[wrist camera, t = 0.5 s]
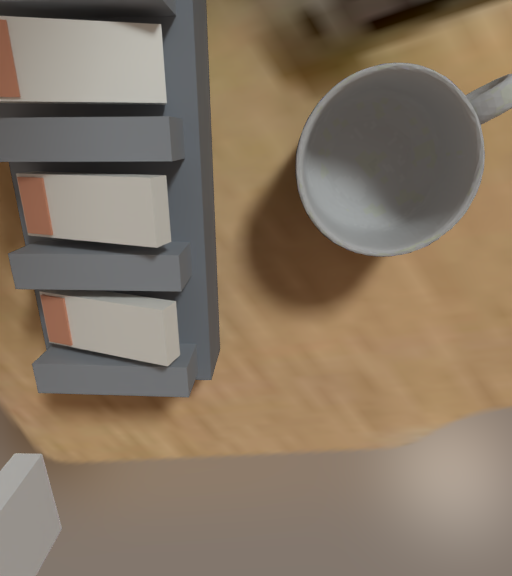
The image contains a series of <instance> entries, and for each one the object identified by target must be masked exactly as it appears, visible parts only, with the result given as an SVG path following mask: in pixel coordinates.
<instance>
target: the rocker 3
mask: <svg viewBox="0 0 512 576" xmlns="http://www.w3.org/2000/svg"><path fill="white" fill-rule="evenodd" d="M39 293H40V298H41V303H42V308H43V313H44V318H45V323H46V328H47V333H48V338H49V343H54V344H59V345H64V346H69V347H74V348H79V349H84V350H89V351H94V352H99V353H104V354H109V355H114V356H119V357H124V358H129V359H133V360H138V361H143V362H148V363H153V364H158V365H163V366H169V365H170V364H171V363H172V362H173V361H174V360H175V359H176V358H177V357H179V356H180V347H179V334H178V321H177V308H176V301H171V300H164V299H157V298H150V297H143V296H136V295H129V294H122V293H115V292H108V291H101V290H48V289H44V290H42V291H39Z"/></svg>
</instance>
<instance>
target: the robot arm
mask: <svg viewBox="0 0 512 576" xmlns="http://www.w3.org/2000/svg"><path fill="white" fill-rule="evenodd" d="M61 529H62V527H61V523H60V519H59V515H58V512H57V508H56V504H55V500H54V497H53V493H52V489H51V486H50V481H49V478H48V474H47V470H46V467H45V463H44V459H43V455H42V454H18V453H17V454H16V453H15V454H14V455H13V456H12V457H11V459H10V460H9V461H8V462H7V463H6V465H5V466H4V467H3V468H2V470H1V471H0V576H36V575H37V573H38V571H39V570H40V568H41V566H42V564H43V562H44V560H45V559H46V557H47V555H48V553H49V551H50V549H51V548H52V546H53V544H54V542H55V540H56V539H57V537H58V535H59V533H60V531H61Z"/></svg>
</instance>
